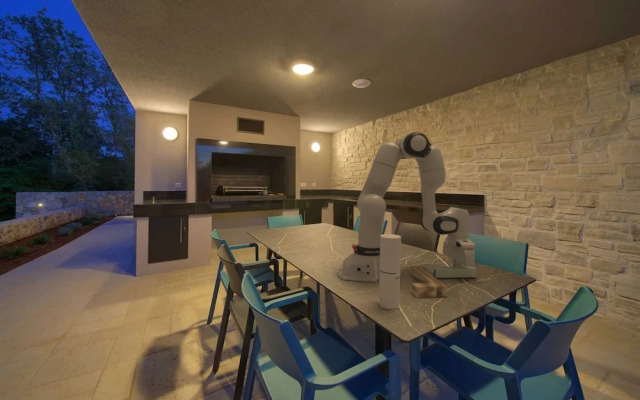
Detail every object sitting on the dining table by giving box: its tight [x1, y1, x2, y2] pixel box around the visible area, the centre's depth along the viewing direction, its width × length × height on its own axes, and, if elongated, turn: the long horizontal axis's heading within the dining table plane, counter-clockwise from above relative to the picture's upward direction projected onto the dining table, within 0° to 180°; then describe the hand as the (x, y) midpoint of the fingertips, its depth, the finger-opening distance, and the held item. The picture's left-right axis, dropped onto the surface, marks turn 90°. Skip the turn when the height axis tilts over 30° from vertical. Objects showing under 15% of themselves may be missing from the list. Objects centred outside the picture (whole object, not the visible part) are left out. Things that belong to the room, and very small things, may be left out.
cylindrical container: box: [378, 233, 402, 310], centre depth 91 cm, size 7×7×25 cm
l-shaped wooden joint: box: [410, 265, 448, 298], centre depth 109 cm, size 13×24×4 cm, turn 3°
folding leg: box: [425, 264, 477, 279], centre depth 118 cm, size 23×4×5 cm, turn 92°
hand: (456, 269), depth 122 cm, fingers closed
